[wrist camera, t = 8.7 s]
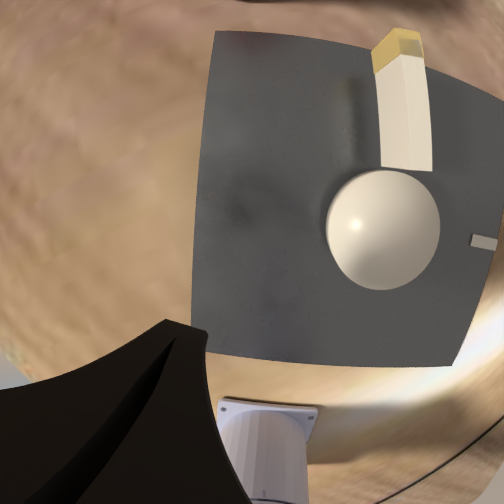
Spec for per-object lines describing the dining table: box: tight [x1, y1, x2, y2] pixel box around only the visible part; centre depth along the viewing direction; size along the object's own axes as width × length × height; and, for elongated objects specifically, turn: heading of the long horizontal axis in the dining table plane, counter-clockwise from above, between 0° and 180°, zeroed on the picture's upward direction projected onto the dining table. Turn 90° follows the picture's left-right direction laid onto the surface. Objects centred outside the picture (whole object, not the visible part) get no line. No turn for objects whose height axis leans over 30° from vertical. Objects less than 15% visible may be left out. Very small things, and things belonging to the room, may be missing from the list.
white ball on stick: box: [326, 28, 440, 290], centre depth 12 cm, size 12×6×5 cm, turn 3°
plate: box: [191, 31, 504, 367], centre depth 16 cm, size 20×20×2 cm
